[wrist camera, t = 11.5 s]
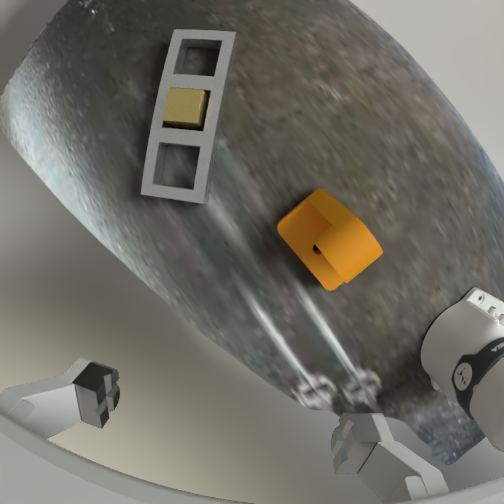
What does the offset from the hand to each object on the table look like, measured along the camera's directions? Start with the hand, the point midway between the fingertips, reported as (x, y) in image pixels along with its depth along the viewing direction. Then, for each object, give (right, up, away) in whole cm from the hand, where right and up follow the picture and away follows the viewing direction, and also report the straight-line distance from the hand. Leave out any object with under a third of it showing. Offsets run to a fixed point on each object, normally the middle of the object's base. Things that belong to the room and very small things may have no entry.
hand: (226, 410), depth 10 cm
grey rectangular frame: (-7, +23, +27) cm, 36 cm away
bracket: (+10, +7, +30) cm, 32 cm away
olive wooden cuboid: (-7, +23, +27) cm, 36 cm away
